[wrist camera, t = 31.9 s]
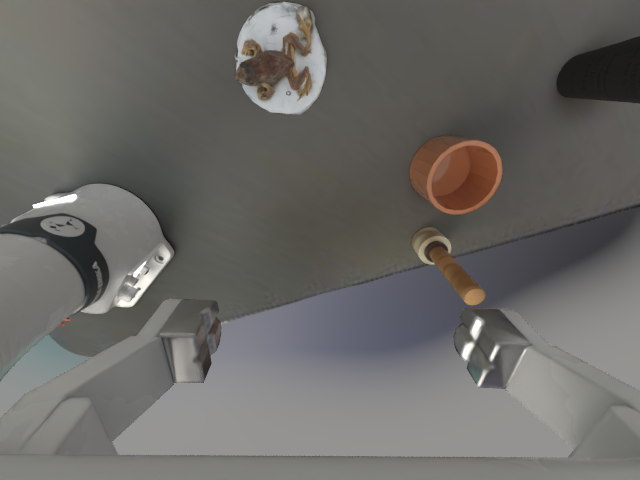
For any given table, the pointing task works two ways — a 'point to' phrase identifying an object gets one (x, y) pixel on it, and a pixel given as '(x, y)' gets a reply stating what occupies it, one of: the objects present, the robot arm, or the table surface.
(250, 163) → the table surface
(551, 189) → the table surface
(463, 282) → the brush
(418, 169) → the tumbler
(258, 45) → the frog figurine
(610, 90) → the drinking cup
